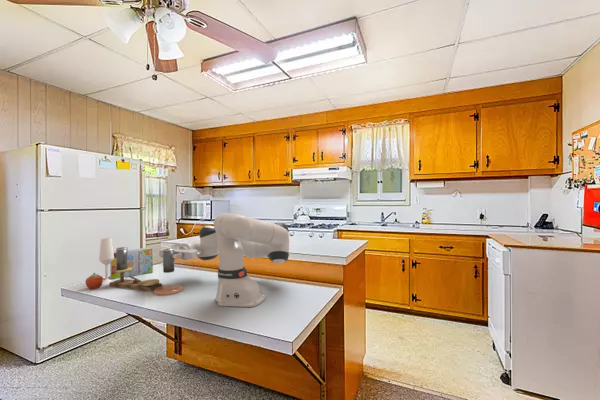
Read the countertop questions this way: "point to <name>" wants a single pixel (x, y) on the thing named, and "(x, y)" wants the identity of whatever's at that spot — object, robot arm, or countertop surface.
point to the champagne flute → (106, 256)
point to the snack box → (135, 262)
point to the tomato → (94, 281)
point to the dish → (168, 289)
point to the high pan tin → (122, 258)
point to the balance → (134, 282)
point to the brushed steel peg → (168, 260)
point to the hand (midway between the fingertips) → (167, 256)
